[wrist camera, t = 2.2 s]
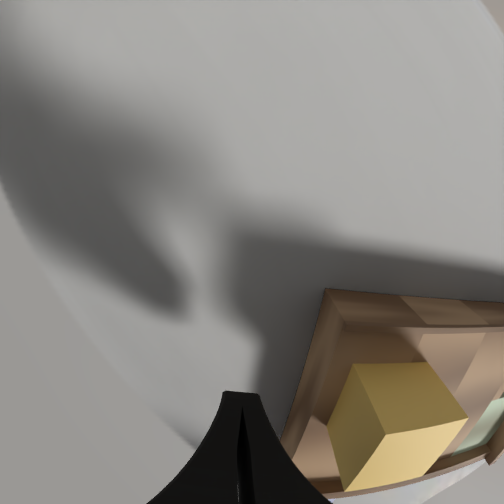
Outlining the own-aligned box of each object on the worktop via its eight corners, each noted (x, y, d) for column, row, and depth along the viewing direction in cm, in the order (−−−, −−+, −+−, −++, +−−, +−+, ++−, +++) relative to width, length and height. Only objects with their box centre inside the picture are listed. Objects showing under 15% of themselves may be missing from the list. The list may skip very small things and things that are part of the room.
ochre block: (395, 420, 13) (422, 476, 9) (326, 426, 13) (344, 492, 9) (427, 361, 12) (468, 417, 8) (352, 363, 11) (385, 434, 8)
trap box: (471, 428, 19) (494, 463, 14) (274, 455, 17) (280, 514, 13) (538, 304, 15) (578, 332, 10) (325, 288, 14) (361, 351, 9)
